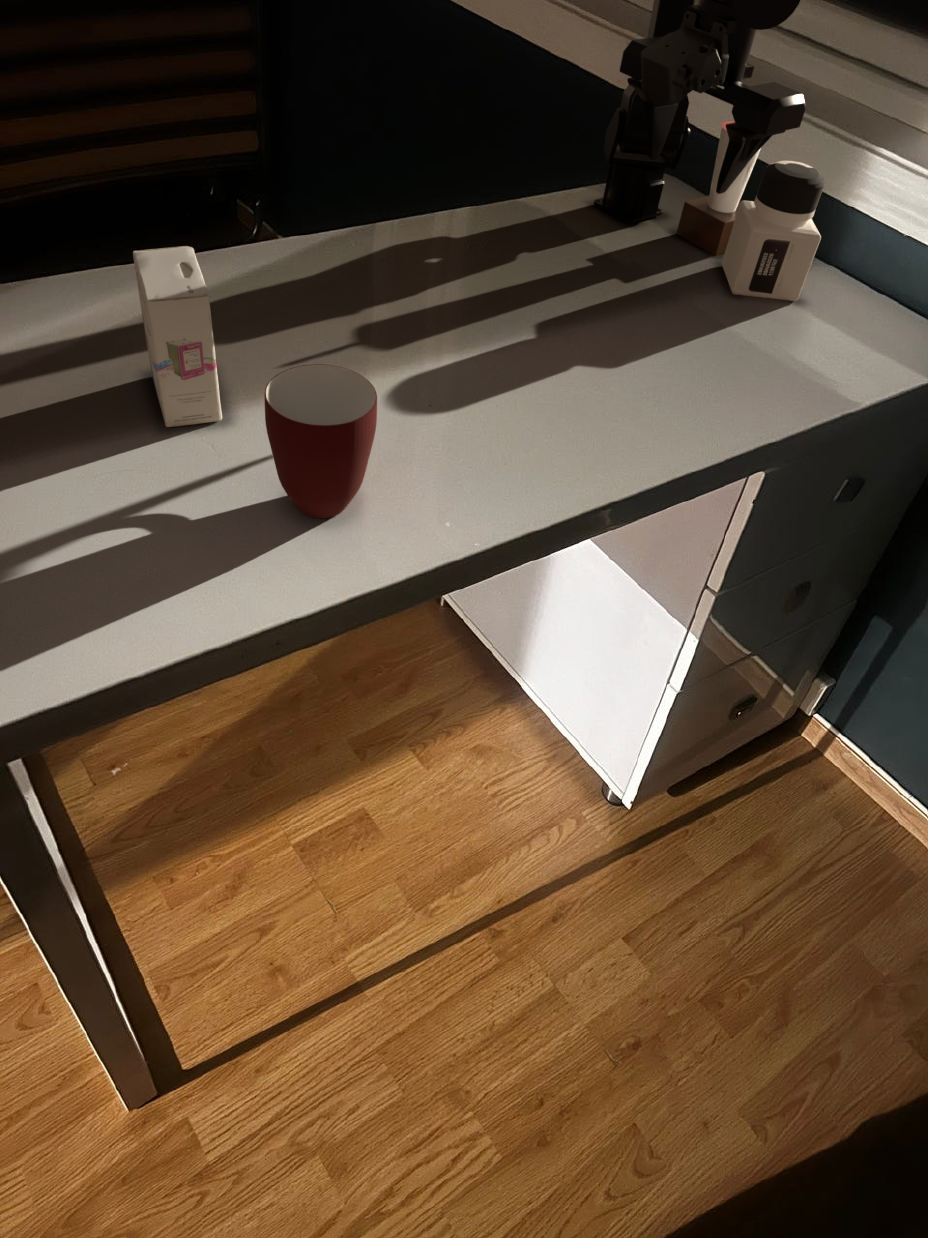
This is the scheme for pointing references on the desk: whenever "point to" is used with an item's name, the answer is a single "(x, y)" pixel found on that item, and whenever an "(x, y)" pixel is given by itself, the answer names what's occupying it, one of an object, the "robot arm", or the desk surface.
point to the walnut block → (706, 225)
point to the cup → (732, 196)
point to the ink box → (178, 334)
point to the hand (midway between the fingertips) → (686, 175)
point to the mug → (320, 434)
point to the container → (775, 234)
